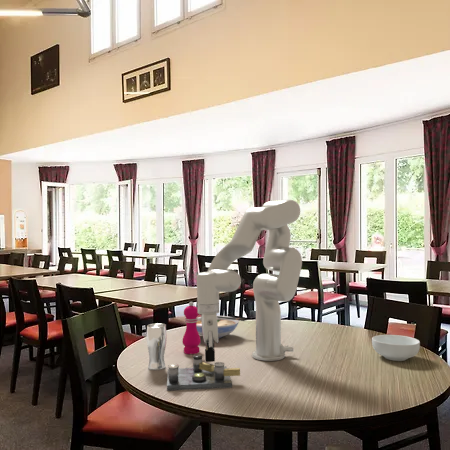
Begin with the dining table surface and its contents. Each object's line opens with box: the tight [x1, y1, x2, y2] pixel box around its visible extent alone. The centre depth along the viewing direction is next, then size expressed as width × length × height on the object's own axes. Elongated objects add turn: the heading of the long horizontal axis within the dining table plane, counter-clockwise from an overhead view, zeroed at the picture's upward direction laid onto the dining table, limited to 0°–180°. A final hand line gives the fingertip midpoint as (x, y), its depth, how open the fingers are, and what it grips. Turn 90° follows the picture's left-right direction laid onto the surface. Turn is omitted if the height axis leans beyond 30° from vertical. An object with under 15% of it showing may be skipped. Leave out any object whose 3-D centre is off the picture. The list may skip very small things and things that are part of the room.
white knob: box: [167, 363, 180, 382], centre depth 144 cm, size 8×3×5 cm, turn 6°
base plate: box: [166, 365, 233, 392], centre depth 147 cm, size 20×16×3 cm
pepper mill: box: [182, 301, 201, 355], centre depth 179 cm, size 7×7×20 cm
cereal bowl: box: [371, 334, 421, 362], centre depth 170 cm, size 17×17×7 cm
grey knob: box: [213, 361, 241, 380], centre depth 144 cm, size 8×3×5 cm, turn 96°
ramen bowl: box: [196, 315, 248, 340], centre depth 203 cm, size 25×23×8 cm
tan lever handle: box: [192, 354, 215, 372], centre depth 150 cm, size 8×3×5 cm, turn 53°
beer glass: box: [146, 322, 167, 371], centre depth 160 cm, size 7×7×15 cm
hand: (210, 360), depth 156 cm, fingers closed
